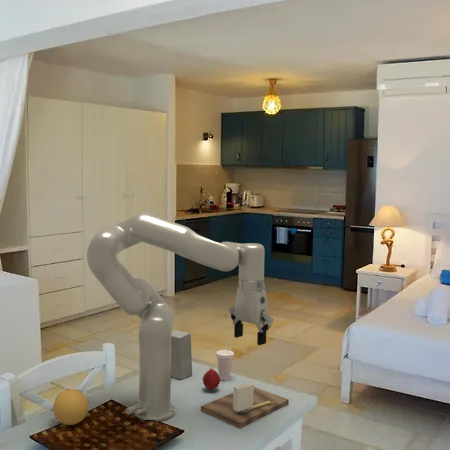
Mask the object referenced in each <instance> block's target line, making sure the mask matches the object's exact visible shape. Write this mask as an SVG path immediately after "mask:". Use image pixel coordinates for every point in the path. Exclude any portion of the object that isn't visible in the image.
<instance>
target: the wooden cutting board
mask: <svg viewBox="0 0 450 450" xmlns="http://www.w3.org/2000/svg"><path fill="white" fill-rule="evenodd" d="M233 396H234V392H232V393H230V394H229V393H228V394H226V395H224V396H221V397H220V398H217V399H215V400H213V401H210V402H207V403H206V404H202V405H201V406H200V412H202V413H205V414H206V415H209V416H210V417H213V418H215V419H217V420H220V421H222V422H224V421H225V422H224V423H226V422H227V423H226V424H229V425H231V426H233V427H235V428H238V429H242V428H244V427H246V426H247V425H249V424H251V423H253V422H256V421H258V420H259V419H262V418H264V417H266V416H268V415H270V414H271V413H274V412H276V411H278V410H280V409H282V408H284V407H287V406H288V405H290V403H289V401H290V399H288V398H285V397H283V396H281V395H277V394H275V393H272V392H270V391H266V390H263V389H262V388H260V387H259V388H258V387H255V386H254V393H253V406H254V405H258V404H261V403H264V402H267V401H270V402H271V403H269V404H266V405H262V406H259V407H256V408H253V409H250V410H248V413H247V414H240V413H238V412H237V411H235V410H234V409H233Z"/></svg>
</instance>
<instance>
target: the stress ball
mask: <svg viewBox="0 0 450 450" xmlns="http://www.w3.org/2000/svg"><path fill="white" fill-rule="evenodd" d="M89 404H90V402H89V399H88V397H87V396H86V395H85V394H84V392H83V391H81V390H79V389H74V388H67V389H65V390H64V391H62V392H60V393H58V395H57V396H56V397H55V399H54V401H53V405H52V412H53V415H54V417H55V419H56V420H57V421H58V422H59V423H61V424H62V425H65V426H68V425H73V426H75V425H77V424H78V423H80V422H81V421H83V420H84V419H85V417H86V416H87V413H88V412H89ZM74 424H75V425H74Z"/></svg>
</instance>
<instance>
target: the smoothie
mask: <svg viewBox="0 0 450 450" xmlns="http://www.w3.org/2000/svg"><path fill="white" fill-rule="evenodd" d="M228 342H229V341H228V340H226V341H225V344H226V345H225V349H221V350H220V349H219V350H217V351H216V353H215V354H216V355H215V356H216V357H217V358H216V359H217V368H218V369H217V370H218V371H217V372H218V375H219V377H220V381H222V380H227V381H230V379H231V372H232V365H233V361H234V360H233V358H234V356H235V353H234V351H233V350H230V349H228V346H229V345H228V344H229V343H228Z"/></svg>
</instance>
